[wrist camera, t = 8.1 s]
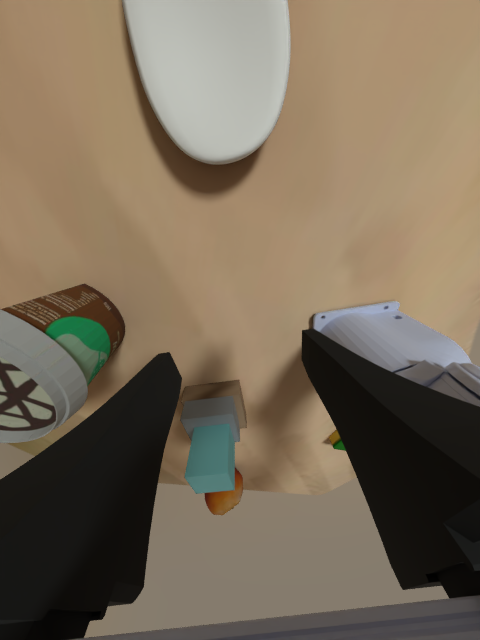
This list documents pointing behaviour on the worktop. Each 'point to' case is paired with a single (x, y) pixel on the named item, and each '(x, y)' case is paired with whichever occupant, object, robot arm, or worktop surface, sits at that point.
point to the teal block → (211, 459)
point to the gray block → (211, 415)
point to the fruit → (225, 497)
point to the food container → (52, 358)
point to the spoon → (212, 71)
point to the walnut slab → (218, 391)
